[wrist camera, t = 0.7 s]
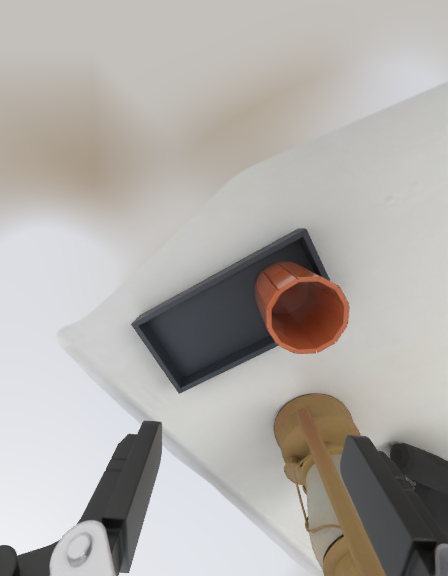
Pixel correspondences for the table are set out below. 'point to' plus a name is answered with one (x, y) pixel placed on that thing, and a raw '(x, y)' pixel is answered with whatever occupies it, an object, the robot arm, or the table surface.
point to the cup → (300, 307)
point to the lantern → (325, 483)
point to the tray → (219, 316)
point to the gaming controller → (426, 479)
